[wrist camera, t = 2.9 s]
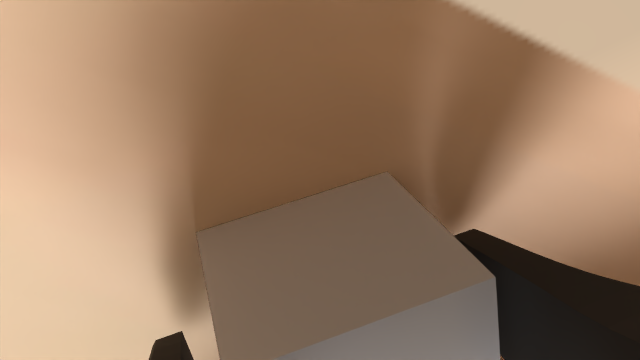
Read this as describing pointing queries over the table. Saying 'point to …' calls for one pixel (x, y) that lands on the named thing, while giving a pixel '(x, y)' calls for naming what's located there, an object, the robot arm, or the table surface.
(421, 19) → the table surface
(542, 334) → the robot arm
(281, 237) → the pale grey cube
